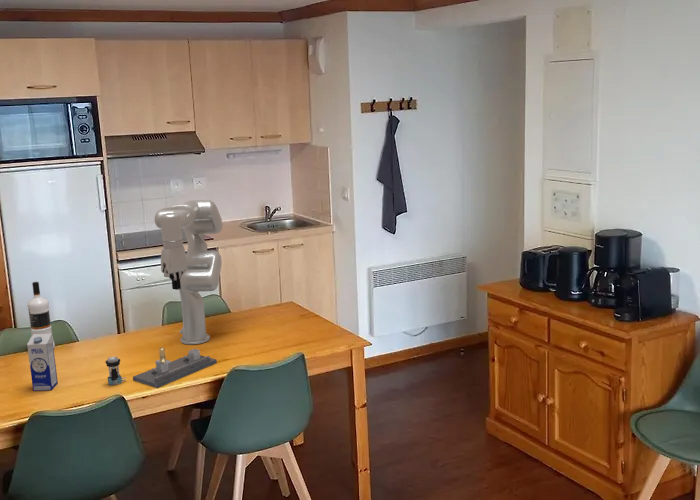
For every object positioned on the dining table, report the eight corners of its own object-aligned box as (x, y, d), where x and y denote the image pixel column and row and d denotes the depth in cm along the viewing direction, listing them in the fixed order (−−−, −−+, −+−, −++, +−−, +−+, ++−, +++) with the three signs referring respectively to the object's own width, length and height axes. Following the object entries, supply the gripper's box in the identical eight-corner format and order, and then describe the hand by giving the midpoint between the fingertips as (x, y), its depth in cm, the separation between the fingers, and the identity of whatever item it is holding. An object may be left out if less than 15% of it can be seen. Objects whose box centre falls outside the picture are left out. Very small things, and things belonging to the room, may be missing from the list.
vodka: (55, 351, 320) (46, 283, 313) (31, 354, 317) (22, 285, 310) (55, 344, 328) (47, 278, 322) (32, 347, 325) (24, 280, 319)
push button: (124, 379, 286) (122, 354, 283) (127, 383, 281) (125, 358, 279) (106, 382, 283) (103, 357, 280) (109, 387, 278) (106, 361, 276)
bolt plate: (133, 380, 284) (131, 364, 283) (192, 356, 307) (191, 341, 306) (157, 388, 276) (155, 371, 274) (216, 363, 299) (215, 347, 298)
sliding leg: (149, 373, 286) (147, 346, 284) (156, 370, 288) (153, 344, 286) (165, 377, 281) (162, 350, 278) (171, 375, 283) (169, 348, 281)
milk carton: (58, 383, 284) (52, 332, 279) (52, 390, 277) (45, 338, 273) (39, 384, 283) (33, 333, 279) (32, 391, 277) (26, 339, 273)
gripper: (181, 240, 305) (184, 283, 309) (151, 246, 293) (155, 292, 297) (193, 241, 301) (197, 285, 304) (164, 248, 289) (168, 294, 293)
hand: (176, 288), depth 301 cm, fingers closed
